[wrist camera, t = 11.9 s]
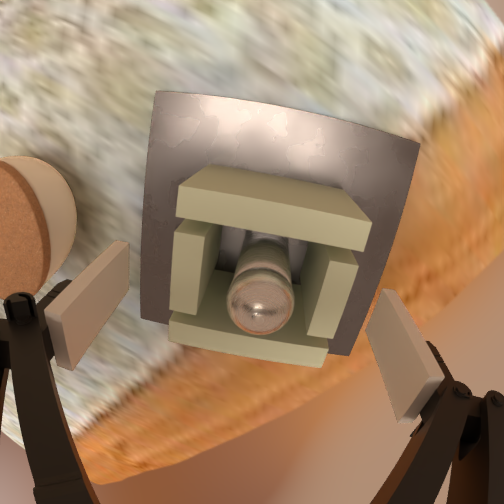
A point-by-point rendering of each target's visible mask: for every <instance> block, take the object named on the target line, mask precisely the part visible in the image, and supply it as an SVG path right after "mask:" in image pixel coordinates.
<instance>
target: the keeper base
mask: <svg viewBox="0 0 504 504" xmlns="http://www.w3.org/2000/svg"><path fill="white" fill-rule="evenodd" d="M419 148H420V143H417V142H414V141H411V140H408V139H405V138H402V137H399V136H396V135H393V134H390V133H386V132H383V131H380V130H376V129H373V128H370V127H366V126H363V125H359V124H355V123H352V122H348V121H344V120H340V119H336V118H332V117H328V116H324V115H319V114H315V113H311V112H306V111H301V110H297V109H292V108H287V107H282V106H276V105H271V104H265V103H259V102H253V101H247V100H240V99H233V98H226V97H218V96H210V95H201V94H191V93H180V92H168V91H156V93H155V100H154V107H153V114H152V121H151V129H150V137H149V146H148V155H147V165H146V176H145V188H144V201H143V217H142V238H141V278H140V304H141V318H142V319H146V320H150V321H154V322H159V323H163V324H167V325H169V319H170V317H171V315H172V313H173V311H174V310H169V306H170V286H171V269H172V254H173V241H174V231H175V230H176V229H177V228H178V227H179V225H180V224H181V223H182V222H183V221H184V220H185V218H180V217H176V207H177V197H178V188H179V185H180V184H182V183H183V182H184V181H186V180H187V179H189V178H190V177H191V176H193V175H194V174H196V173H197V172H198V171H200V170H201V169H203V168H204V167H206V166H207V165H208V164H213V165H219V166H225V167H231V168H237V169H243V170H249V171H254V172H260V173H265V174H271V175H276V176H281V177H286V178H291V179H296V180H301V181H306V182H311V183H315V184H320V185H325V186H329V187H334V188H338V189H342V190H344V191H345V192H346V193H347V194H348V195H349V196H350V197H351V199H352V200H353V201H354V202H355V203H356V204H357V205H358V207H359V208H360V209H361V210H362V211H363V212H364V213H365V215H366V216H367V217H368V218H369V219H370V221H371V222H372V226H371V229H370V232H369V236H368V239H367V242H366V245H365V249H364V252H361V251H356V250H351V251H352V253H353V255H354V257H355V259H356V261H357V263H358V265H359V267H358V271H357V274H356V277H355V280H354V282H353V285H352V288H351V291H350V294H349V297H348V300H347V303H346V305H345V308H344V311H343V314H342V316H341V319H340V322H339V324H338V327H337V330H336V332H335V335H334V337H333V339H330V338H327V341H328V347H329V350H328V354H336V355H344V356H349V355H350V352H351V350H352V348H353V346H354V343H355V341H356V339H357V336H358V334H359V332H360V329H361V327H362V325H363V322H364V320H365V317H366V315H367V312H368V310H369V307H370V305H371V302H372V300H373V297H374V295H375V292H376V289H377V287H378V284H379V281H380V279H381V276H382V273H383V270H384V267H385V265H386V262H387V259H388V256H389V253H390V250H391V247H392V244H393V241H394V238H395V235H396V232H397V229H398V225H399V222H400V219H401V216H402V212H403V209H404V205H405V202H406V198H407V195H408V191H409V188H410V184H411V180H412V176H413V172H414V168H415V164H416V160H417V156H418V152H419ZM308 242H309V241H305V240H300V239H295V238H290V237H285V236H279V235H274V234H269V233H263V232H258V231H253V230H247V229H242V228H236V227H231V226H225V225H223V227H222V234H221V241H220V248H219V255H218V261H217V264H216V266H215V270H220V271H226V272H231V273H235V274H234V278H233V281H232V283H231V284H230V287H229V289H228V292H227V297H226V305H227V310H228V313H229V315H230V317H231V319H232V320H233V322H234V323H235V324H236V325H237V326H238V327H239V328H240V329H242V330H244V331H245V332H248V333H250V334H255V335H266V334H270V333H273V332H275V331H277V330H279V329H281V328H282V327H283V326H284V325H285V324H286V323H287V322H288V321H289V319H290V317H291V316H292V313H293V310H294V306H295V296H294V291H293V288H292V284H297V285H301V281H300V273H301V269H302V265H303V262H304V258H305V254H306V250H307V246H308Z"/></svg>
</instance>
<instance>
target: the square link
mask: <svg viewBox="0 0 504 504" xmlns="http://www.w3.org/2000/svg"><path fill="white" fill-rule="evenodd" d="M176 217H180V218H185V220H184V221H183V222H182V223H181V224H180V225H179V227H178V228H177V229H176V230H175V231H174V241H173V254H172V269H171V286H170V306H169V310H174V311H173V313H172V315H171V317H170V319H169V333H168V341H171V342H175V343H180V344H184V345H188V346H193V347H198V348H202V349H207V350H212V351H217V352H222V353H228V354H233V355H238V356H244V357H250V358H255V359H261V360H268V361H274V362H280V363H287V364H294V365H302V366H309V367H317V368H321V367H322V365H323V362H324V360H325V358H326V355H327V353H328V350H329V347H328V341H327V338H330V339H333V337H334V335H335V332H336V330H337V327H338V324H339V322H340V319H341V316H342V314H343V311H344V308H345V305H346V303H347V300H348V297H349V294H350V291H351V288H352V285H353V282H354V280H355V277H356V274H357V271H358V267H359V265H358V263H357V261H356V259H355V257H354V255H353V253H352V251H351V250H356V251H361V252H364V249H365V245H366V242H367V239H368V236H369V232H370V229H371V226H372V222H371V221H370V219H369V218H368V217H367V216H366V215H365V213H364V212H363V211H362V210H361V209H360V208H359V207H358V205H357V204H356V203H355V202H354V201H353V200H352V199H351V197H350V196H349V195H348V194H347V193H346V192H345V191H344V190H342V189H338V188H334V187H329V186H325V185H320V184H315V183H311V182H306V181H301V180H296V179H291V178H286V177H281V176H276V175H271V174H265V173H260V172H254V171H249V170H243V169H237V168H231V167H225V166H219V165H213V164H208V165H207V166H206V167H204V168H203V169H201V170H200V171H198V172H197V173H196V174H194V175H193V176H191V177H190V178H189V179H187V180H186V181H184V182H183V183H182V184H180V185H179V188H178V197H177V207H176ZM223 225H225V226H231V227H236V228H242V229H247V230H253V231H258V232H263V233H269V234H274V235H279V236H285V237H290V238H295V239H300V240H305V241H309V242H308V246H307V250H306V254H305V258H304V262H303V265H302V269H301V273H300V281H301V285H297V284H292V288H293V291H294V296H295V306H294V310H293V313H292V316H291V317H290V319H289V321H288V322H287V323H286V324H285V325H284V326H283V327H282V328H281V329H279V330H277V331H275V332H273V333H270V334H266V335H255V334H250V333H248V332H245V331H244V330H242V329H240V328H239V327H238V326H237V325H236V324H235V323H234V322H233V320H232V319H231V317H230V315H229V313H228V310H227V305H226V297H227V292H228V289H229V287H230V284H231V283H232V281H233V278H234V274H235V273H231V272H226V271H220V270H215V266H216V264H217V261H218V255H219V248H220V241H221V234H222V227H223Z"/></svg>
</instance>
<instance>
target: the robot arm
mask: <svg viewBox="0 0 504 504" xmlns="http://www.w3.org/2000/svg"><path fill="white" fill-rule="evenodd" d="M128 290H129V243H128V242H123V241H117V240H116V241H115V242H114V243H112V244H111V245H110V246H109V247H108V248H107V249H106V250H105V251H104V252H103V253H101V254H100V255H99V256H98V257H97V258H96V259H95V260H94V261H93V262H92V263H91V264H90V265H89V266H88V267H87V268H85V269H84V270H83V271H82V272H81V273H80V274H79V275H78V276H77V277H76V278H75V279H74V280H73V281H72V280H68V279H67V280H64V281H62V282H60V283H58V284H57V285H56V286H55V287H54V288H53V289H52V290H51V291H50V292H49V293H48V294H47V295H46V296H44V297H43V298H42V299H41V300H40V301H39V302H38V303H37V304H36V303H35V299H34V297H33V295H32V294H30V293H27V292H17V293H13V294H11V295H9V296H8V297H7V298H6V299H5V300H4V303H3V305H4V309H5V313H6V317H7V319H0V432H1V423H2V413H3V405H4V398H5V391H6V385H7V379H8V374H9V369H11V371H12V380H13V387H14V394H15V401H16V407H17V413H18V418H19V423H20V428H21V433H22V437H23V442H24V446H25V450H26V454H27V458H28V462H29V465H30V469H31V472H32V476H33V479H34V483H35V487H34V488H33V494H34V497H35V501H36V504H100V502H99V500H98V498H97V496H96V494H95V492H94V490H93V487H92V485H91V483H90V481H89V478H88V476H87V474H86V471H85V469H84V467H83V464H82V462H81V459H80V457H79V454H78V452H77V449H76V446H75V444H74V441H73V438H72V435H71V432H70V430H69V427H68V424H67V421H66V418H65V414H64V411H63V408H62V405H61V401H60V398H59V394H58V391H57V387H56V384H55V380H54V376H53V372H52V368H51V364H50V360H51V359H52V358H53V356H55V359H56V363H57V366H60V367H63V368H65V369H68V370H71V371H73V370H74V368H75V367H76V365H77V364H78V362H79V361H80V359H81V358H82V356H83V355H84V353H85V352H86V350H87V349H88V347H89V346H90V344H91V343H92V341H93V340H94V338H95V337H96V336H97V334H98V333H99V331H100V330H101V328H102V327H103V325H104V324H105V323H106V321H107V320H108V318H109V317H110V315H111V314H112V313H113V311H114V310H115V308H116V307H117V306H118V304H119V303H120V301H121V300H122V299H123V297H124V296H125V295H126V293H127V292H128ZM365 331H366V334H367V336H368V339H369V342H370V344H371V347H372V350H373V352H374V355H375V358H376V361H377V363H378V366H379V369H380V372H381V375H382V377H383V380H384V383H385V386H386V389H387V392H388V395H389V398H390V401H391V404H392V407H393V410H394V413H395V416H396V419H397V423H413V421H414V420H415V419H416V418H417V416H418V415H419V414H420V416H421V418H422V421H421V422H420V424H419V425H418V426H417V427H416V429H415V430H414V431H413V432H412V434H411V435H410V437H412V438H411V440H410V441H409V443H408V445H407V447H406V448H405V450H404V452H403V454H402V455H401V457H400V459H399V460H398V462H397V464H396V465H395V467H394V469H393V470H392V472H391V473H390V475H389V476H388V478H387V480H386V481H385V482H384V484H383V486H382V487H381V488H380V490H379V491H378V493H377V494H376V496H375V497H374V499H373V500H372V501H371V503H370V504H434V502H435V499H436V497H437V495H438V493H439V491H440V489H441V486H442V484H443V482H444V479H445V477H446V475H447V472H448V470H449V467H450V465H451V462H452V468H451V476H450V484H449V491H448V497H447V503H446V504H504V396H503V395H502V394H501V393H499V392H497V391H493V390H491V391H488V392H487V394H486V395H485V397H484V398H480V397H476V396H472V392H471V390H470V389H469V388H468V387H467V386H466V385H465V384H463V383H461V382H459V381H454V379H453V377H452V375H451V373H450V372H449V370H448V368H447V366H446V365H445V363H444V361H443V359H442V357H440V354H439V352H438V350H437V349H436V347H435V346H433V345H432V344H431V343H430V342H429V341H425V339H424V338H423V336H422V334H421V332H420V331H419V329H418V327H417V326H416V324H415V322H414V320H413V319H412V317H411V315H410V314H409V312H408V310H407V309H406V307H405V305H404V304H403V302H402V301H401V299H400V297H399V296H398V294H397V292H396V291H395V290H391V289H385V288H382V291H381V293H380V296H379V298H378V301H377V304H376V306H375V308H374V311H373V313H372V316H371V318H370V321H369V323H368V325H367V328H366V330H365Z"/></svg>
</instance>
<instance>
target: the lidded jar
mask: <svg viewBox="0 0 504 504" xmlns="http://www.w3.org/2000/svg"><path fill="white" fill-rule="evenodd" d="M76 228H77V211H76V205H75V200H74V197H73V194H72V191H71V189H70V187H69V186H68V184H67V182H66V181H65V179H64V178H63V177H62V175H61V174H60V173H59V172H58V171H57V170H56V169H55V168H53V167H52V166H51V165H49V164H48V163H46V162H44V161H42V160H40V159H37V158H33V157H28V156H9V157H3V158H0V298H1V299H3V300H5V299H6V298H7V297H8V296H9V295H11V294H13V293H17V292H27V293H30V294H32V295H33V296H34V295H35V294H36V293H37V292H38V291H39V290H40V289H41V287H42V286H43V285H44V284H45V283H46V282H47V281H48V280H49V279H50V278H51V277H52V276H53V275H54V274H55V273H56V271H57V270H58V269H59V268H60V267H61V265H62V264H63V263H64V261H65V259H66V258H67V256H68V254H69V252H70V250H71V247H72V245H73V242H74V239H75V234H76Z"/></svg>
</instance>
